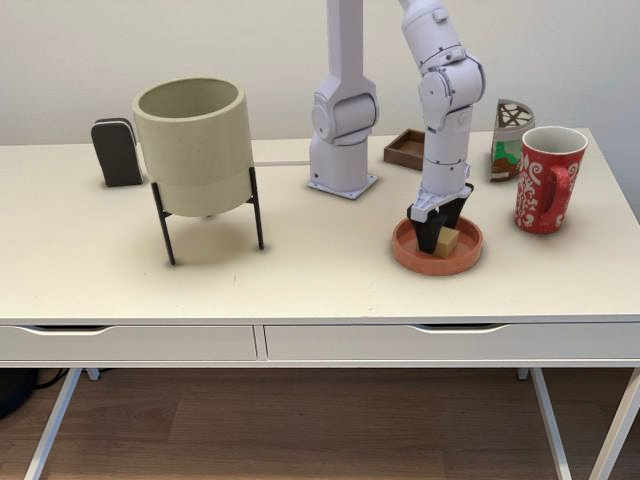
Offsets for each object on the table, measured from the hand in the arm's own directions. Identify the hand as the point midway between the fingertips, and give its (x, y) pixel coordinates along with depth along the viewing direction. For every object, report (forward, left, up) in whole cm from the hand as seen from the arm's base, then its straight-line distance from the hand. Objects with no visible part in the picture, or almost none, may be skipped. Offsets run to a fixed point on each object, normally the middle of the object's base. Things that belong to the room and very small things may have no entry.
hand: (436, 240), depth 98 cm
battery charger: (-58, -8, -2) cm, 59 cm away
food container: (0, +28, -2) cm, 28 cm away
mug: (+11, +13, -2) cm, 17 cm away
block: (0, 0, -1) cm, 1 cm away
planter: (-31, -15, -2) cm, 34 cm away
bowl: (0, 0, -2) cm, 2 cm away
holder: (-16, +25, -2) cm, 30 cm away
